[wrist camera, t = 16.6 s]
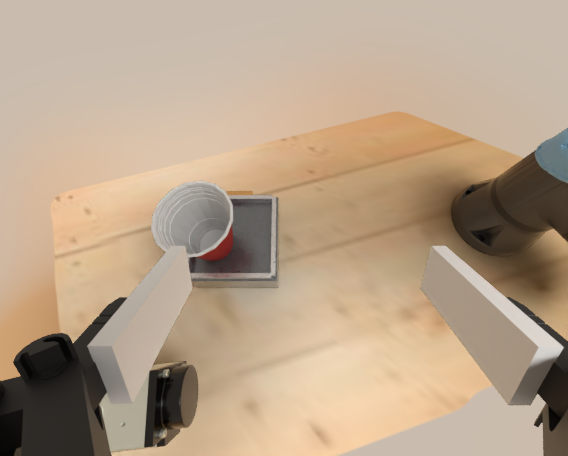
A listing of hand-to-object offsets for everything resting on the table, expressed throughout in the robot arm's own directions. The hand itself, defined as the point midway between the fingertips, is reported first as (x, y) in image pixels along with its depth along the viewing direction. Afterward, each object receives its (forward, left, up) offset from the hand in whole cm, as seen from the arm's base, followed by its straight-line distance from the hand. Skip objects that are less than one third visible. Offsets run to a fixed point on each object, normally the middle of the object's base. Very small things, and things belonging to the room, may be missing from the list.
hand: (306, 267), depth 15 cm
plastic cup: (+13, -10, -29) cm, 33 cm away
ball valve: (+22, +12, -36) cm, 44 cm away
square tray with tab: (+10, -13, -36) cm, 39 cm away
